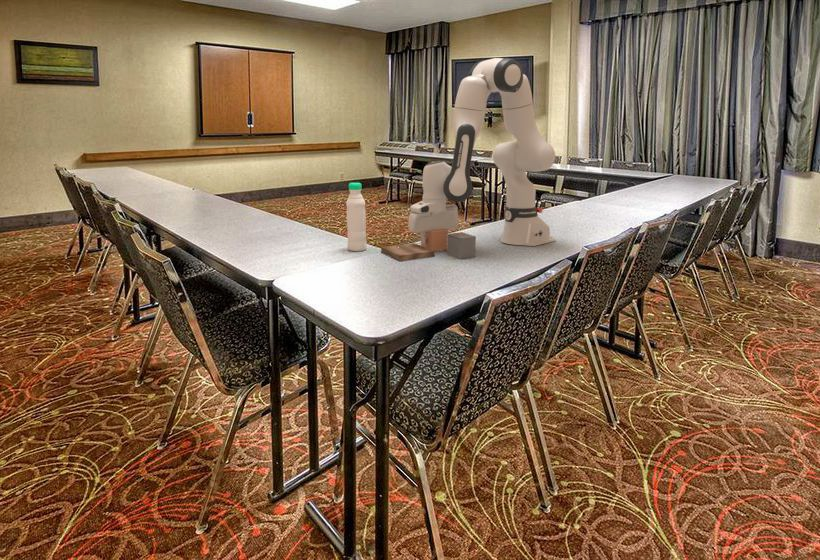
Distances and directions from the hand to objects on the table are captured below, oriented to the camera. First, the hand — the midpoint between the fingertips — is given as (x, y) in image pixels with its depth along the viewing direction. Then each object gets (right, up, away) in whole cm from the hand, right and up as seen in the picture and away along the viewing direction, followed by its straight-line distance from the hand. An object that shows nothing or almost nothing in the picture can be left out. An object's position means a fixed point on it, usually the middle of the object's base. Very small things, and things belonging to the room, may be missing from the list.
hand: (434, 242), depth 196 cm
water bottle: (-29, -3, 0) cm, 29 cm away
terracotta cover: (0, -2, +1) cm, 3 cm away
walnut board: (-10, -5, -8) cm, 14 cm away
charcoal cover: (+9, -6, -10) cm, 15 cm away
